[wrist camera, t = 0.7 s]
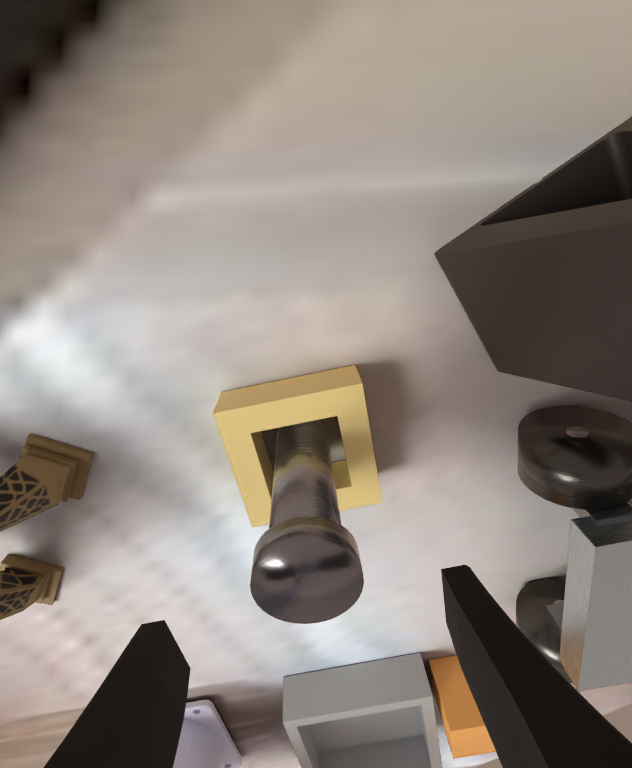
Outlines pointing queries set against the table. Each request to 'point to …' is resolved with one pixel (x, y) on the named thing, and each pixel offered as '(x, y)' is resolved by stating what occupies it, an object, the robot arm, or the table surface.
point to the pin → (305, 535)
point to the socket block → (293, 406)
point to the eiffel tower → (27, 498)
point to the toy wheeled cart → (582, 543)
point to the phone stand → (557, 273)
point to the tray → (363, 716)
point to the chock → (458, 709)
